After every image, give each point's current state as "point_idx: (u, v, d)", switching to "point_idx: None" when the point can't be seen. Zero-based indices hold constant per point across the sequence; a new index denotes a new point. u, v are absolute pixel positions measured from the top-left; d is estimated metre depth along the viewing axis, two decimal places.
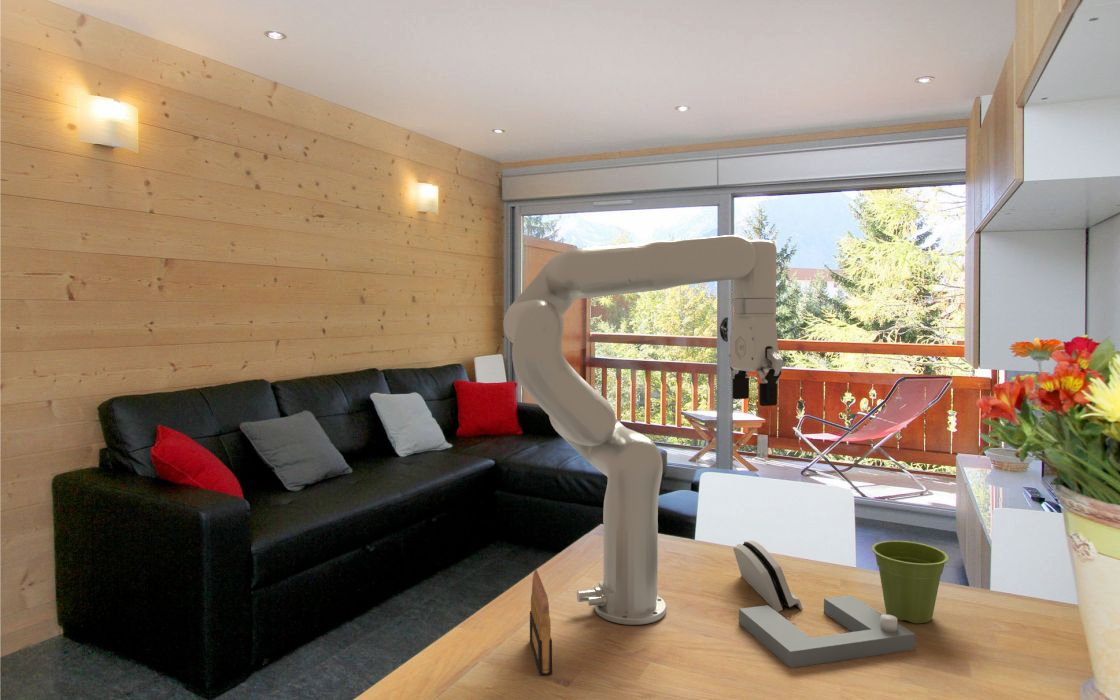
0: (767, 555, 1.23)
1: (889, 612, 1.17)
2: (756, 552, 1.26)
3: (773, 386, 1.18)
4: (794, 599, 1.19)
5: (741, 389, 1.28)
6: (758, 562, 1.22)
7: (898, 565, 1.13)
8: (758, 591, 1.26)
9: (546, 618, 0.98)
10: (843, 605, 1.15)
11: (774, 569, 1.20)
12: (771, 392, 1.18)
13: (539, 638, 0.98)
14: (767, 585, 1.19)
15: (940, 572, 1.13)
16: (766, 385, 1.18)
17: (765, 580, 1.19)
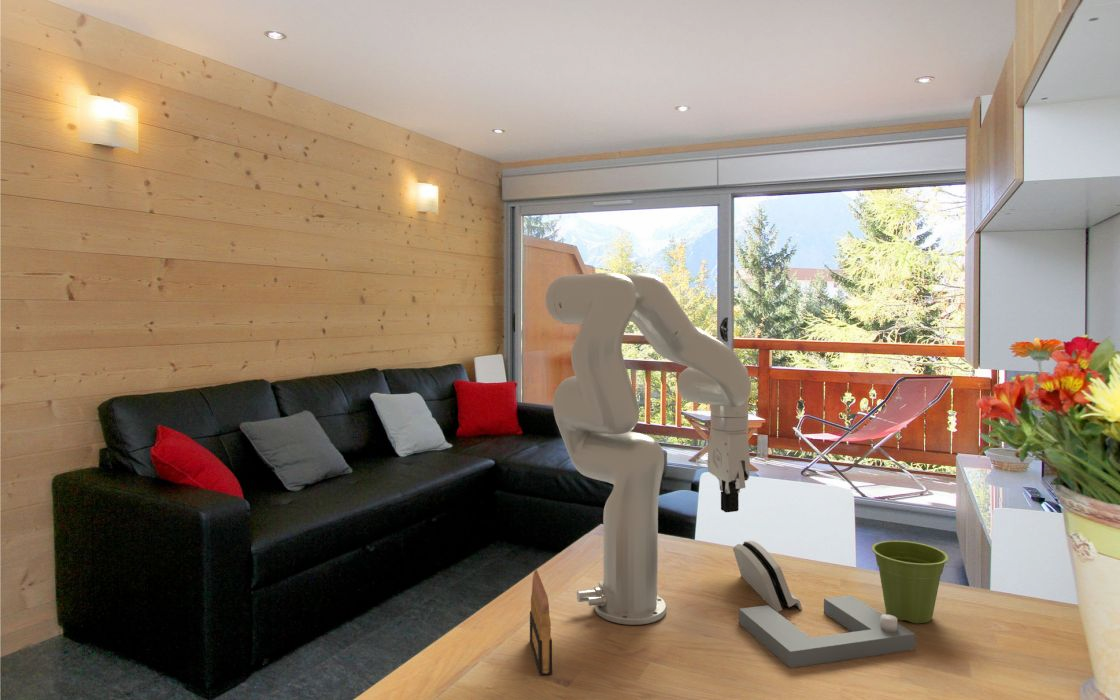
0: (767, 555, 1.23)
1: (889, 612, 1.17)
2: (756, 552, 1.26)
3: (735, 496, 1.39)
4: (794, 599, 1.19)
5: None
6: (758, 562, 1.22)
7: (898, 565, 1.13)
8: (758, 591, 1.26)
9: (546, 618, 0.98)
10: (843, 605, 1.15)
11: (773, 569, 1.20)
12: (733, 501, 1.39)
13: (539, 638, 0.98)
14: (767, 585, 1.19)
15: (940, 572, 1.13)
16: (729, 495, 1.39)
17: (765, 580, 1.19)
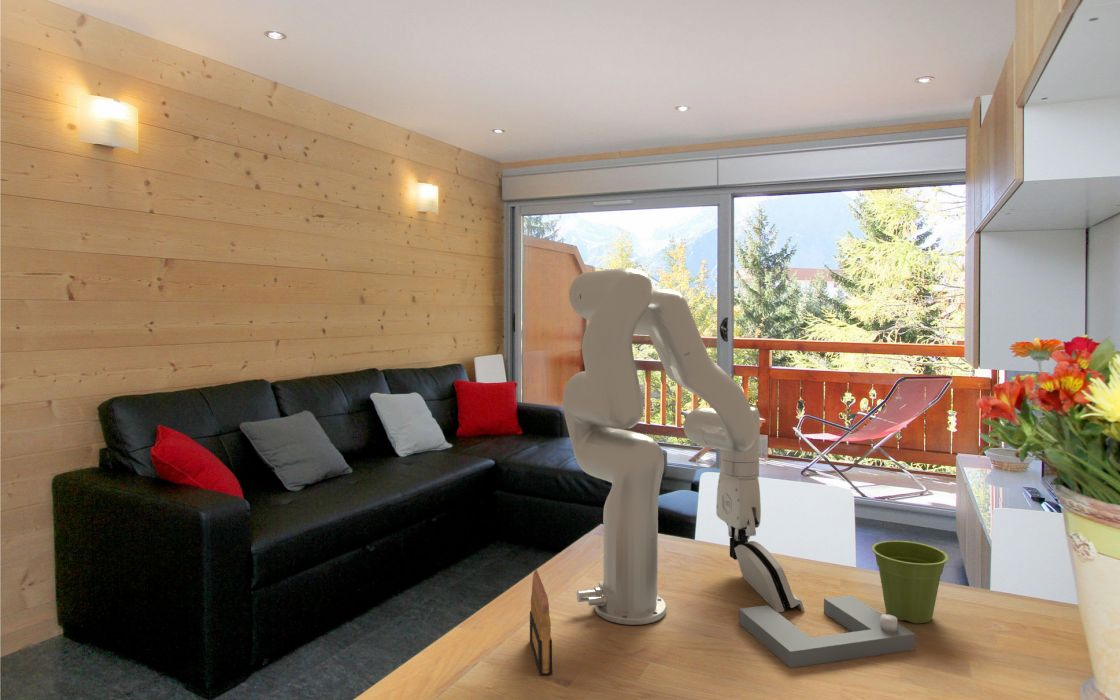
0: (769, 556, 1.22)
1: (889, 612, 1.17)
2: (757, 553, 1.25)
3: (744, 543, 1.35)
4: (796, 600, 1.19)
5: None
6: (759, 563, 1.21)
7: (898, 565, 1.13)
8: (759, 592, 1.26)
9: (546, 618, 0.98)
10: (843, 605, 1.15)
11: (775, 569, 1.19)
12: None
13: (539, 638, 0.98)
14: (769, 586, 1.19)
15: (940, 572, 1.13)
16: (738, 542, 1.35)
17: (767, 581, 1.19)
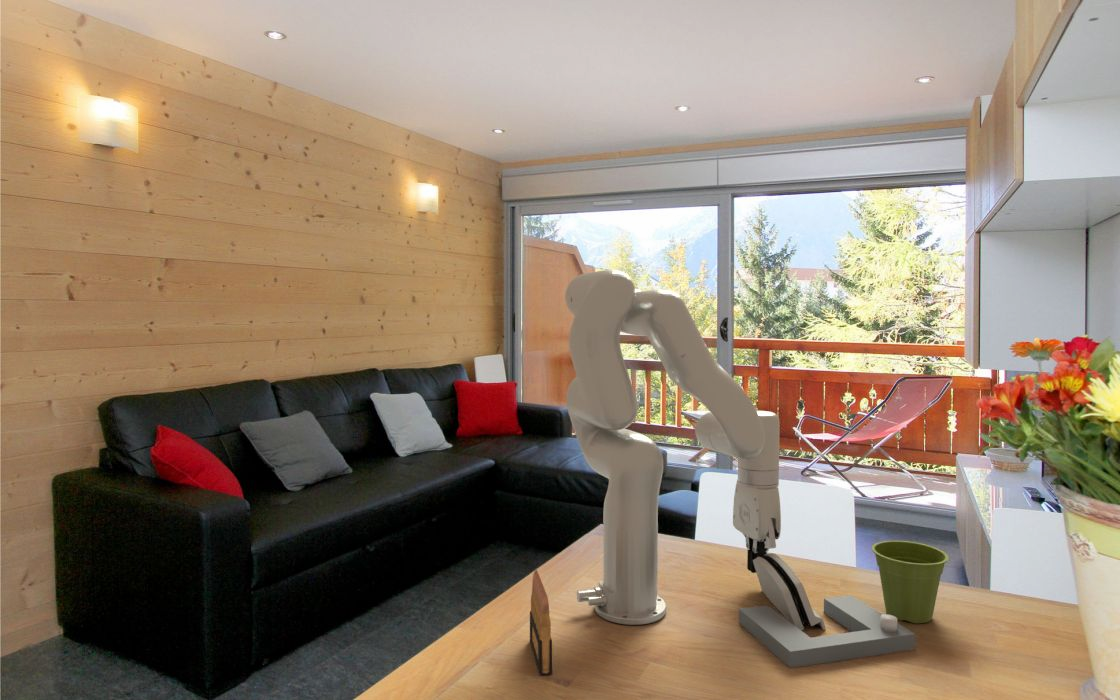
0: (788, 570, 1.16)
1: (889, 612, 1.17)
2: (776, 566, 1.18)
3: (763, 555, 1.28)
4: (816, 618, 1.12)
5: None
6: (778, 577, 1.15)
7: (898, 565, 1.13)
8: (778, 607, 1.19)
9: (546, 618, 0.98)
10: (843, 605, 1.15)
11: (794, 585, 1.12)
12: None
13: (539, 638, 0.98)
14: (787, 602, 1.12)
15: (940, 572, 1.13)
16: (757, 554, 1.28)
17: (785, 597, 1.12)
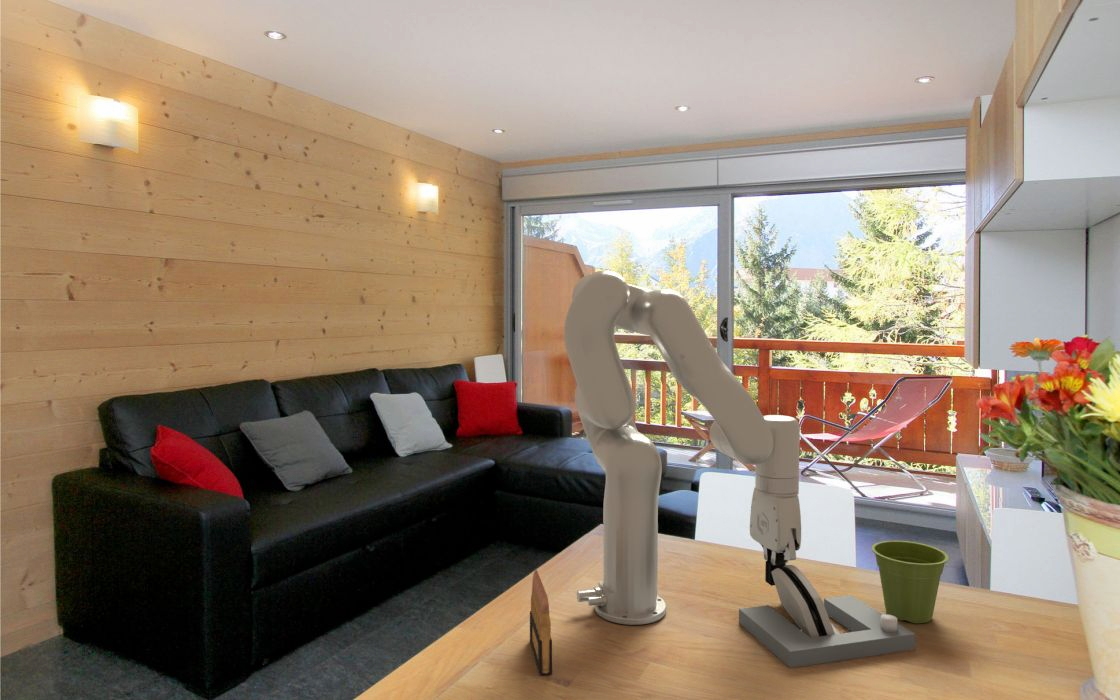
0: (807, 584, 1.09)
1: (889, 612, 1.17)
2: (795, 579, 1.12)
3: (782, 567, 1.22)
4: None
5: None
6: (796, 591, 1.09)
7: (898, 565, 1.13)
8: (797, 623, 1.13)
9: (546, 618, 0.98)
10: (843, 605, 1.15)
11: (813, 600, 1.06)
12: None
13: (539, 638, 0.98)
14: (805, 618, 1.06)
15: (940, 572, 1.13)
16: (775, 566, 1.22)
17: (803, 612, 1.06)
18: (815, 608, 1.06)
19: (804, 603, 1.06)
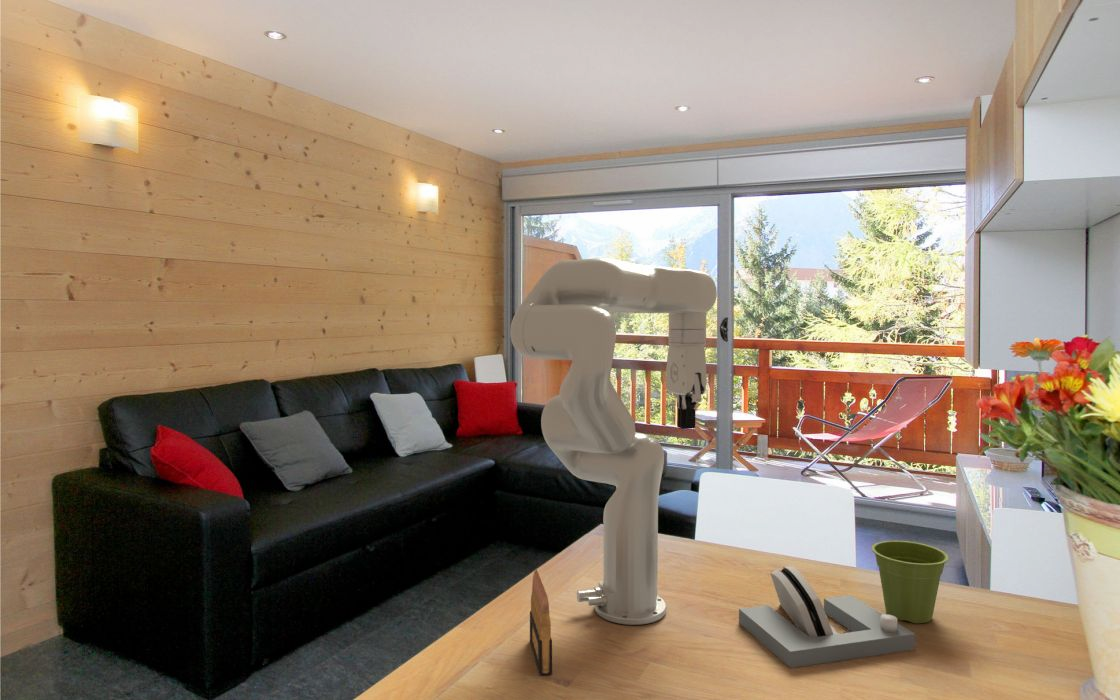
0: (806, 585, 1.09)
1: (889, 612, 1.17)
2: (794, 580, 1.12)
3: (691, 411, 1.36)
4: None
5: None
6: (795, 592, 1.09)
7: (898, 565, 1.13)
8: (796, 624, 1.13)
9: (546, 618, 0.98)
10: (843, 605, 1.15)
11: (812, 601, 1.06)
12: (689, 417, 1.36)
13: (539, 638, 0.98)
14: (804, 619, 1.06)
15: (940, 572, 1.13)
16: (685, 411, 1.36)
17: (802, 613, 1.06)
18: (814, 609, 1.06)
19: (803, 604, 1.06)
